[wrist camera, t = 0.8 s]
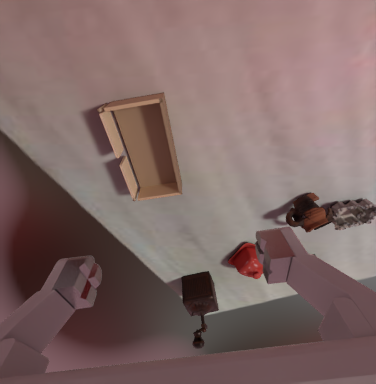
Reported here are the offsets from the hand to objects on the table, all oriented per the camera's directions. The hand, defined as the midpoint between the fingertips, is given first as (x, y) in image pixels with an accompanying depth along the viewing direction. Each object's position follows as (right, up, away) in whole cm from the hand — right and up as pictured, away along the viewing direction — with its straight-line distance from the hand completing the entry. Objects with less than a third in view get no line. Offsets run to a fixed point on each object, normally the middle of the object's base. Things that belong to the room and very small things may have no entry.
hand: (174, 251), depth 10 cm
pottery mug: (+31, 0, +46) cm, 55 cm away
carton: (-7, +13, +33) cm, 36 cm away
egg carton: (+46, -3, +49) cm, 67 cm away
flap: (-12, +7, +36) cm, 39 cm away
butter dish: (+21, -18, +57) cm, 64 cm away
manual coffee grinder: (+5, -32, +66) cm, 74 cm away
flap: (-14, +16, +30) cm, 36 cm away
